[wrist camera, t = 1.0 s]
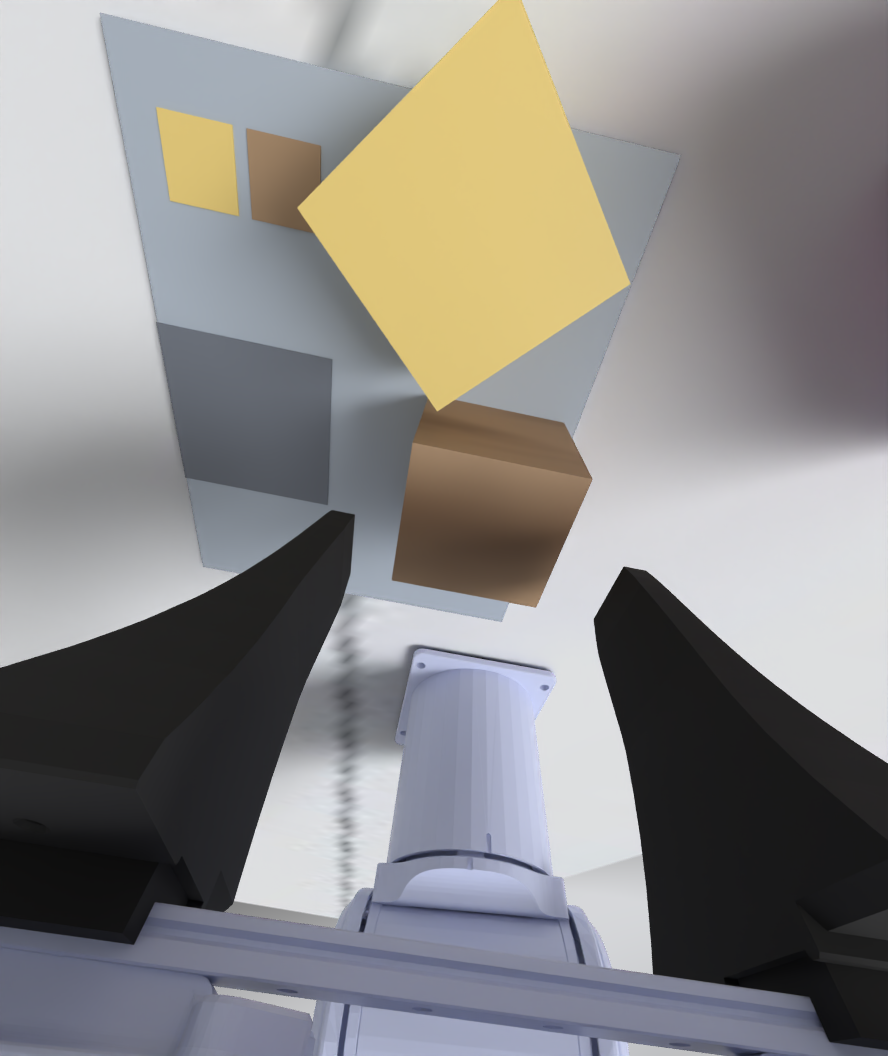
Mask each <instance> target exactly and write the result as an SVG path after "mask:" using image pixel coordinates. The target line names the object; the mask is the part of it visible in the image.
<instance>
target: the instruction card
mask: <svg viewBox="0 0 888 1056" xmlns="http://www.w3.org/2000/svg"><path fill="white" fill-rule="evenodd" d="M100 17H101V22H102V27H103V33H104V38H105V43H106V49H107V54H108V60H109V65H110V70H111V76H112V81H113V86H114V92H115V97H116V102H117V108H118V113H119V118H120V124H121V129H122V134H123V140H124V145H125V151H126V156H127V161H128V167H129V172H130V177H131V183H132V188H133V193H134V199H135V204H136V209H137V215H138V220H139V226H140V231H141V236H142V242H143V247H144V252H145V258H146V263H147V268H148V274H149V279H150V284H151V290H152V295H153V300H154V306H155V311H156V317H157V322H156V323H157V328H158V334H159V339H160V344H161V349H162V355H163V360H164V365H165V371H166V376H167V381H168V387H169V392H170V397H171V403H172V408H173V413H174V419H175V424H176V429H177V434H178V440H179V445H180V450H181V456H182V461H183V466H184V472H185V477H186V478H187V483H188V488H189V493H190V499H191V504H192V509H193V515H194V520H195V525H196V531H197V536H198V541H199V547H200V552H201V558H202V563H203V567H208V568H213V569H218V570H224V571H229V572H235V573H240V574H241V573H242V572H244V571H246V570H247V569H249V568H250V567H252V566H254V565H255V564H257V563H258V562H260V561H261V560H263V559H265V558H266V557H268V556H269V555H271V554H272V553H274V552H275V551H277V550H278V549H279V548H281V547H282V546H284V545H285V544H286V543H288V542H289V541H291V540H292V539H293V538H295V537H296V536H298V535H299V534H300V533H302V532H303V531H304V530H305V529H307V528H308V527H309V526H311V525H312V524H313V523H315V522H316V521H317V520H318V519H320V518H321V517H322V516H324V515H325V514H326V513H328V512H329V511H331V510H335V511H340V512H345V513H350V514H355V523H354V536H353V549H352V562H351V574H350V577H349V581H348V584H347V587H346V590H345V593H348V594H353V595H359V596H364V597H370V598H375V599H380V600H386V601H391V602H397V603H402V604H407V605H413V606H418V607H424V608H429V609H434V610H440V611H445V612H451V613H456V614H461V615H467V616H472V617H478V618H483V619H488V620H494V621H499V622H502V620H503V617H504V615H505V612H506V609H507V607H508V604H509V602H504V601H499V600H493V599H488V598H483V597H477V596H472V595H467V594H461V593H456V592H451V591H445V590H440V589H435V588H429V587H424V586H419V585H413V584H408V583H403V582H397V581H392V573H393V567H394V560H395V554H396V547H397V541H398V534H399V528H400V521H401V515H402V508H403V502H404V495H405V489H406V482H407V475H408V469H409V462H410V456H411V449H412V443H413V440H414V437H415V434H416V431H417V428H418V425H419V422H420V419H421V416H422V414H423V411H424V408H425V405H426V402H427V399H428V397H427V396H426V395H425V393H424V392H423V390H422V389H421V387H420V386H419V384H418V383H417V381H416V380H415V379H414V377H413V376H412V374H411V373H410V371H409V370H408V368H407V367H406V365H405V364H404V363H403V361H402V360H401V358H400V357H399V355H398V354H397V352H396V351H395V349H394V348H393V347H392V345H391V344H390V342H389V341H388V339H387V338H386V336H385V335H384V334H383V332H382V331H381V329H380V328H379V326H378V325H377V323H376V322H375V320H374V319H373V318H372V316H371V315H370V313H369V312H368V310H367V309H366V307H365V306H364V304H363V303H362V302H361V300H360V299H359V297H358V296H357V294H356V293H355V291H354V290H353V288H352V287H351V286H350V284H349V283H348V281H347V280H346V278H345V277H344V275H343V274H342V272H341V271H340V270H339V268H338V267H337V265H336V264H335V262H334V261H333V259H332V258H331V256H330V255H329V254H328V252H327V251H326V249H325V248H324V246H323V245H322V243H321V242H320V241H319V239H318V238H317V236H316V235H315V233H314V232H313V230H312V229H311V227H310V226H309V225H308V223H307V222H306V220H305V219H304V217H303V216H302V214H301V213H300V211H299V210H298V209H297V208H298V206H299V205H300V204H301V203H302V202H303V201H304V200H305V199H306V198H307V197H308V196H309V195H310V194H311V193H312V192H313V191H314V190H315V189H316V188H317V187H318V186H319V185H320V184H321V183H322V182H323V181H324V180H325V179H326V178H327V177H328V176H329V174H330V173H331V172H332V171H333V170H334V169H335V168H336V167H337V166H338V165H339V164H340V163H341V162H342V161H343V160H344V159H345V158H346V157H347V156H348V155H349V154H350V153H351V152H352V151H353V150H354V149H355V148H356V147H357V146H358V145H359V144H360V142H361V141H362V140H363V139H364V138H365V137H366V136H367V135H368V134H369V133H370V132H371V131H372V130H373V129H374V128H375V127H376V126H377V125H378V124H379V123H380V122H381V121H382V120H383V119H384V118H385V117H386V116H387V115H388V114H389V113H390V112H391V110H392V109H393V108H394V107H395V106H396V105H397V104H398V103H399V102H400V101H401V100H402V99H403V98H404V97H405V96H406V95H407V94H408V93H409V92H410V91H411V90H412V89H410V88H406V87H401V86H397V85H393V84H389V83H385V82H381V81H377V80H373V79H369V78H365V77H361V76H357V75H352V74H348V73H344V72H340V71H336V70H332V69H328V68H324V67H320V66H316V65H312V64H308V63H304V62H299V61H295V60H291V59H287V58H283V57H279V56H275V55H271V54H267V53H263V52H259V51H255V50H250V49H246V48H242V47H238V46H234V45H230V44H226V43H222V42H218V41H214V40H210V39H206V38H201V37H197V36H193V35H189V34H185V33H181V32H177V31H173V30H169V29H165V28H161V27H157V26H152V25H148V24H144V23H140V22H136V21H132V20H128V19H124V18H120V17H116V16H112V15H108V14H104V13H100ZM571 130H572V133H573V136H574V138H575V141H576V143H577V146H578V149H579V151H580V154H581V156H582V159H583V162H584V164H585V167H586V169H587V172H588V175H589V177H590V180H591V182H592V185H593V188H594V190H595V193H596V195H597V198H598V201H599V203H600V206H601V208H602V211H603V214H604V216H605V219H606V221H607V224H608V227H609V229H610V232H611V234H612V237H613V240H614V242H615V245H616V247H617V250H618V253H619V255H620V258H621V260H622V263H623V266H624V268H625V271H626V273H627V276H628V279H629V281H630V285H628V286H627V287H625V288H624V289H622V290H621V291H619V292H618V293H616V294H615V295H613V296H612V297H610V298H609V299H607V300H606V301H604V302H603V303H601V304H600V305H598V306H596V307H595V308H593V309H592V310H590V311H589V312H587V313H586V314H584V315H583V316H581V317H580V318H578V319H577V320H575V321H574V322H572V323H571V324H569V325H568V326H566V327H565V328H563V329H562V330H560V331H559V332H557V333H556V334H554V335H553V336H551V337H549V338H548V339H546V340H545V341H543V342H542V343H540V344H539V345H537V346H536V347H534V348H533V349H531V350H530V351H528V352H527V353H525V354H524V355H522V356H521V357H519V358H518V359H516V360H515V361H513V362H512V363H510V364H509V365H507V366H505V367H504V368H502V369H501V370H499V371H498V372H496V373H495V374H493V375H492V376H490V377H489V378H487V379H486V380H484V381H483V382H481V383H480V384H478V385H477V386H475V387H474V388H472V389H471V390H469V391H468V392H466V393H465V394H463V395H461V396H460V397H458V398H457V399H455V400H459V401H463V402H468V403H473V404H478V405H482V406H487V407H492V408H497V409H501V410H506V411H511V412H516V413H520V414H525V415H530V416H535V417H540V418H544V419H549V420H554V421H559V422H563V423H564V424H565V426H566V427H567V429H568V431H569V433H570V435H571V437H572V438H573V435H574V433H575V430H576V428H577V425H578V422H579V420H580V417H581V415H582V412H583V409H584V407H585V404H586V402H587V399H588V396H589V394H590V391H591V389H592V386H593V383H594V381H595V378H596V376H597V373H598V370H599V368H600V365H601V363H602V360H603V357H604V355H605V352H606V350H607V347H608V344H609V342H610V339H611V337H612V334H613V331H614V329H615V326H616V324H617V321H618V318H619V316H620V313H621V311H622V308H623V305H624V303H625V300H626V298H627V295H628V292H629V290H630V287H631V285H632V282H633V279H634V277H635V274H636V272H637V269H638V267H639V264H640V261H641V259H642V256H643V254H644V251H645V248H646V246H647V243H648V241H649V238H650V235H651V233H652V230H653V228H654V225H655V222H656V220H657V217H658V215H659V212H660V209H661V207H662V204H663V202H664V199H665V196H666V194H667V191H668V189H669V186H670V183H671V181H672V178H673V176H674V173H675V170H676V168H677V165H678V163H679V160H680V157H681V155H679V154H675V153H671V152H667V151H663V150H659V149H655V148H650V147H646V146H642V145H638V144H634V143H630V142H626V141H622V140H618V139H614V138H610V137H606V136H601V135H597V134H593V133H589V132H585V131H581V130H577V129H573V128H571Z"/></svg>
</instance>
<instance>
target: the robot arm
mask: <svg viewBox="0 0 888 1056" xmlns="http://www.w3.org/2000/svg"><path fill="white" fill-rule="evenodd" d="M354 523H355V514H350V513H345V512H340V511H335V510H331V511H329V512H328V513H326V514H325V515H324V516H322V517H321V518H320V519H318V520H317V521H316V522H315V523H313V524H312V525H311V526H309V527H308V528H307V529H305V530H304V531H303V532H302V533H300V534H299V535H298V536H296V537H295V538H293V539H292V540H291V541H289V542H288V543H286V544H285V545H284V546H282V547H281V548H279V549H278V550H277V551H275V552H274V553H272V554H271V555H269V556H268V557H266V558H265V559H263V560H261V561H260V562H258V563H257V564H255V565H254V566H252V567H250V568H249V569H247V570H246V571H244V572H242V573H241V574H239V575H237V576H236V577H234V578H232V579H230V580H229V581H227V582H225V583H223V584H221V585H219V586H217V587H215V588H213V589H212V590H210V591H208V592H206V593H204V594H202V595H200V596H198V597H195V598H193V599H191V600H189V601H186V602H184V603H182V604H180V605H177V606H175V607H173V608H171V609H168V610H166V611H164V612H162V613H159V614H157V615H155V616H153V617H150V618H148V619H145V620H143V621H140V622H137V623H135V624H132V625H130V626H127V627H124V628H122V629H119V630H116V631H114V632H111V633H108V634H105V635H102V636H100V637H97V638H94V639H91V640H88V641H85V642H82V643H79V644H76V645H73V646H70V647H67V648H64V649H61V650H57V651H54V652H51V653H48V654H44V655H41V656H38V657H34V658H31V659H28V660H25V661H21V662H18V663H15V664H12V665H8V666H5V667H1V668H0V1056H629V1049H628V1042H629V1043H636V1044H643V1045H651V1046H658V1047H665V1048H673V1049H680V1050H687V1051H695V1052H702V1053H709V1054H717V1055H724V1056H888V763H886V762H885V761H883V760H882V759H880V758H878V757H877V756H875V755H874V754H872V753H871V752H869V751H868V750H866V749H864V748H863V747H861V746H860V745H858V744H857V743H855V742H854V741H852V740H851V739H850V738H848V737H847V736H845V735H844V734H842V733H841V732H839V731H838V730H836V729H835V728H833V727H832V726H830V725H829V724H828V723H826V722H825V721H823V720H822V719H820V718H819V717H817V716H816V715H815V714H813V713H812V712H811V711H809V710H808V709H806V708H805V707H804V706H802V705H801V704H800V703H798V702H797V701H796V700H794V699H793V698H792V697H790V696H789V695H788V694H786V693H785V692H784V691H783V690H781V689H780V688H779V687H777V686H776V685H775V684H773V683H772V682H771V681H770V680H768V679H767V678H766V677H765V676H763V675H762V674H761V673H760V672H758V671H757V670H756V669H755V668H754V667H752V666H751V665H750V664H749V663H748V662H747V661H745V660H744V659H743V658H742V657H741V656H740V655H738V654H737V653H736V652H735V651H734V650H733V649H731V648H730V647H729V646H728V645H727V644H726V643H725V642H724V641H722V640H721V639H720V638H719V637H718V636H717V635H716V634H715V633H714V632H712V631H711V630H710V629H709V628H708V627H707V626H706V625H705V624H704V623H703V622H702V621H701V620H700V619H698V618H697V617H696V616H695V615H694V614H693V613H692V612H691V611H690V610H689V609H688V608H687V607H686V606H685V605H684V604H683V603H682V602H680V601H679V600H678V599H677V598H676V597H675V596H674V595H673V594H672V593H671V592H670V591H669V590H668V589H667V588H665V587H664V586H663V585H662V584H661V583H660V582H659V581H658V580H657V579H655V578H654V577H653V576H652V575H651V574H649V573H648V572H647V571H644V570H639V569H634V568H629V567H623V569H622V571H621V572H620V574H619V576H618V578H617V579H616V581H615V583H614V585H613V586H612V588H611V590H610V592H609V593H608V595H607V597H606V599H605V600H604V602H603V604H602V606H601V607H600V609H599V611H598V613H597V614H596V616H595V618H594V626H595V634H596V642H597V648H598V654H599V658H600V662H601V665H602V669H603V672H604V676H605V680H606V683H607V686H608V690H609V693H610V697H611V700H612V703H613V707H614V710H615V714H616V717H617V721H618V724H619V727H620V731H621V734H622V738H623V742H624V746H625V750H626V755H627V760H628V765H629V771H630V776H631V782H632V787H633V793H634V799H635V806H636V812H637V819H638V825H639V832H640V839H641V847H642V855H643V863H644V872H645V880H646V888H647V900H648V911H649V922H650V935H651V947H652V965H653V974H647V973H640V972H632V971H626V970H619V969H612V967H611V964H610V960H609V957H608V954H607V951H606V948H605V946H604V943H603V941H602V939H601V937H600V935H599V933H598V932H597V930H596V929H595V927H594V926H593V925H592V924H591V922H589V920H588V918H587V916H586V915H585V913H584V911H583V910H582V909H581V908H579V907H578V906H574V905H567V901H566V893H565V885H564V879H563V878H561V877H554V876H553V870H552V862H551V854H550V845H549V837H548V829H547V820H546V812H545V804H544V795H543V787H542V779H541V770H540V762H539V754H538V745H537V737H536V729H535V720H536V718H537V716H538V714H539V712H540V711H541V709H542V707H543V705H544V704H545V702H546V700H547V698H548V696H549V695H550V693H551V691H552V689H553V687H554V686H555V684H556V676H555V674H554V673H553V672H550V671H546V670H540V669H535V668H529V667H523V666H518V665H512V664H507V663H501V662H496V661H490V660H485V659H479V658H474V657H468V656H463V655H457V654H451V653H446V652H440V651H435V650H429V649H422V648H421V649H417V650H416V651H415V652H414V655H413V659H412V664H411V668H410V673H409V677H408V682H407V686H406V691H405V695H404V699H403V704H402V708H401V713H400V717H399V722H398V726H397V731H396V735H395V742H396V743H397V744H399V745H404V750H403V757H402V763H401V770H400V777H399V783H398V790H397V797H396V803H395V810H394V817H393V823H392V830H391V837H390V843H389V850H388V857H387V863H379V864H378V865H377V871H376V877H375V883H374V888H362V889H360V890H359V891H358V892H357V893H356V895H355V897H354V899H353V900H352V901H351V902H350V903H349V904H348V905H347V906H346V907H345V908H344V910H343V911H342V913H341V915H340V917H339V920H338V922H337V925H336V927H335V928H329V927H322V926H316V925H309V924H302V923H295V922H288V921H281V920H274V919H267V918H261V917H253V916H247V915H240V914H233V913H226V912H224V911H226V910H227V909H228V908H229V907H230V906H231V905H232V904H233V902H234V899H235V895H236V892H237V888H238V885H239V882H240V878H241V875H242V872H243V869H244V865H245V862H246V859H247V855H248V852H249V849H250V846H251V842H252V839H253V836H254V833H255V829H256V826H257V823H258V820H259V817H260V814H261V811H262V807H263V804H264V801H265V798H266V795H267V792H268V789H269V786H270V782H271V779H272V776H273V773H274V770H275V767H276V764H277V761H278V758H279V755H280V752H281V749H282V746H283V743H284V740H285V737H286V734H287V732H288V729H289V726H290V723H291V720H292V717H293V714H294V711H295V709H296V706H297V703H298V700H299V697H300V695H301V692H302V690H303V687H304V685H305V683H306V680H307V678H308V676H309V674H310V671H311V669H312V667H313V665H314V663H315V661H316V658H317V656H318V654H319V652H320V650H321V648H322V645H323V643H324V641H325V639H326V637H327V635H328V632H329V630H330V628H331V626H332V624H333V622H334V619H335V617H336V615H337V613H338V610H339V608H340V606H341V603H342V600H343V597H344V593H345V590H346V587H347V584H348V581H349V577H350V574H351V562H352V549H353V536H354ZM213 986H218V987H225V988H233V989H240V990H247V991H255V992H262V993H269V994H276V995H284V996H291V997H299V998H306V999H313V1000H317V1001H316V1007H315V1011H314V1017H313V1022H312V1019H311V1017H310V1015H309V1014H308V1013H305V1012H300V1011H295V1010H292V1009H287V1008H283V1007H279V1006H275V1005H271V1004H267V1003H262V1002H258V1001H254V1000H249V999H245V998H240V997H234V996H227V995H218V994H217V992H216V990H215V988H214V987H213Z"/></svg>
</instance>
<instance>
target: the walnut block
mask: <svg viewBox="0 0 888 1056" xmlns="http://www.w3.org/2000/svg"><path fill="white" fill-rule="evenodd" d="M591 482H592V477H591V475H590V473H589V471H588V469H587V467H586V465H585V463H584V461H583V459H582V457H581V455H580V453H579V451H578V449H577V447H576V445H575V443H574V441H573V439H572V437H571V435H570V433H569V431H568V429H567V427H566V426H565V424H564V423H563V422H559V421H554V420H549V419H544V418H540V417H535V416H530V415H525V414H520V413H516V412H511V411H506V410H501V409H497V408H492V407H487V406H482V405H478V404H473V403H468V402H463V401H459V400H454V401H452V402H451V403H449V404H448V405H446V406H445V407H443V408H442V409H440V410H439V411H436V409H435V408H434V406H433V405H432V403H431V402H430V400H429V399H427V402H426V405H425V408H424V411H423V414H422V416H421V419H420V422H419V425H418V428H417V431H416V434H415V437H414V440H413V443H412V449H411V456H410V462H409V469H408V475H407V482H406V489H405V495H404V502H403V508H402V515H401V521H400V528H399V534H398V541H397V547H396V554H395V560H394V567H393V573H392V581H397V582H403V583H408V584H413V585H419V586H424V587H429V588H435V589H440V590H445V591H451V592H456V593H461V594H467V595H472V596H477V597H483V598H488V599H493V600H499V601H504V602H509V603H514V604H520V605H525V606H530V607H536V606H537V604H538V602H539V600H540V597H541V595H542V593H543V591H544V588H545V586H546V584H547V581H548V579H549V577H550V575H551V572H552V570H553V568H554V566H555V563H556V561H557V559H558V556H559V554H560V552H561V550H562V547H563V545H564V543H565V541H566V538H567V536H568V534H569V531H570V529H571V527H572V525H573V522H574V520H575V518H576V516H577V513H578V511H579V509H580V506H581V504H582V502H583V500H584V497H585V495H586V493H587V491H588V488H589V486H590V484H591Z"/></svg>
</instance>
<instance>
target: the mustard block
mask: <svg viewBox="0 0 888 1056" xmlns="http://www.w3.org/2000/svg"><path fill="white" fill-rule="evenodd" d="M297 209H298V210H299V211H300V213H301V214H302V216H303V217H304V219H305V220H306V222H307V223H308V225H309V226H310V227H311V229H312V230H313V232H314V233H315V235H316V236H317V238H318V239H319V241H320V242H321V243H322V245H323V246H324V248H325V249H326V251H327V252H328V254H329V255H330V256H331V258H332V259H333V261H334V262H335V264H336V265H337V267H338V268H339V270H340V271H341V272H342V274H343V275H344V277H345V278H346V280H347V281H348V283H349V284H350V286H351V287H352V288H353V290H354V291H355V293H356V294H357V296H358V297H359V299H360V300H361V302H362V303H363V304H364V306H365V307H366V309H367V310H368V312H369V313H370V315H371V316H372V318H373V319H374V320H375V322H376V323H377V325H378V326H379V328H380V329H381V331H382V332H383V334H384V335H385V336H386V338H387V339H388V341H389V342H390V344H391V345H392V347H393V348H394V349H395V351H396V352H397V354H398V355H399V357H400V358H401V360H402V361H403V363H404V364H405V365H406V367H407V368H408V370H409V371H410V373H411V374H412V376H413V377H414V379H415V380H416V381H417V383H418V384H419V386H420V387H421V389H422V390H423V392H424V393H425V395H426V396H427V397H428V399H429V400H430V402H431V403H432V405H433V406H434V408H435V409H436V411H439V410H440V409H442V408H443V407H445V406H446V405H448V404H449V403H451V402H452V401H454V400H455V399H457V398H458V397H460V396H461V395H463V394H465V393H466V392H468V391H469V390H471V389H472V388H474V387H475V386H477V385H478V384H480V383H481V382H483V381H484V380H486V379H487V378H489V377H490V376H492V375H493V374H495V373H496V372H498V371H499V370H501V369H502V368H504V367H505V366H507V365H509V364H510V363H512V362H513V361H515V360H516V359H518V358H519V357H521V356H522V355H524V354H525V353H527V352H528V351H530V350H531V349H533V348H534V347H536V346H537V345H539V344H540V343H542V342H543V341H545V340H546V339H548V338H549V337H551V336H553V335H554V334H556V333H557V332H559V331H560V330H562V329H563V328H565V327H566V326H568V325H569V324H571V323H572V322H574V321H575V320H577V319H578V318H580V317H581V316H583V315H584V314H586V313H587V312H589V311H590V310H592V309H593V308H595V307H596V306H598V305H600V304H601V303H603V302H604V301H606V300H607V299H609V298H610V297H612V296H613V295H615V294H616V293H618V292H619V291H621V290H622V289H624V288H625V287H627V286H628V285H630V281H629V279H628V276H627V273H626V271H625V268H624V266H623V263H622V260H621V258H620V255H619V253H618V250H617V247H616V245H615V242H614V240H613V237H612V234H611V232H610V229H609V227H608V224H607V221H606V219H605V216H604V214H603V211H602V208H601V206H600V203H599V201H598V198H597V195H596V193H595V190H594V188H593V185H592V182H591V180H590V177H589V175H588V172H587V169H586V167H585V164H584V162H583V159H582V156H581V154H580V151H579V149H578V146H577V143H576V141H575V138H574V136H573V133H572V130H571V128H570V125H569V123H568V120H567V117H566V115H565V112H564V110H563V107H562V104H561V102H560V99H559V97H558V94H557V91H556V89H555V86H554V84H553V81H552V78H551V76H550V73H549V71H548V68H547V65H546V63H545V60H544V58H543V55H542V52H541V50H540V47H539V45H538V42H537V39H536V37H535V34H534V32H533V29H532V26H531V24H530V21H529V19H528V16H527V13H526V11H525V8H524V6H523V3H522V0H498V1H497V2H496V3H495V4H494V5H493V6H492V7H491V8H490V9H489V10H488V11H487V12H486V13H485V14H484V15H483V17H482V18H481V19H480V20H479V21H478V22H477V23H476V24H475V25H474V26H473V27H472V28H471V29H470V30H469V31H468V32H467V33H466V34H465V35H464V36H463V37H462V38H461V39H460V40H459V41H458V42H457V43H456V44H455V45H454V46H453V48H452V49H451V50H450V51H449V52H448V53H447V54H446V55H445V56H444V57H443V58H442V59H441V60H440V61H439V62H438V63H437V64H436V65H435V66H434V67H433V68H432V69H431V70H430V71H429V72H428V73H427V74H426V75H425V76H424V77H423V78H422V80H421V81H420V82H419V83H418V84H417V85H416V86H415V87H414V88H413V89H412V90H411V91H410V92H409V93H408V94H407V95H406V96H405V97H404V98H403V99H402V100H401V101H400V102H399V103H398V104H397V105H396V106H395V107H394V108H393V109H392V110H391V112H390V113H389V114H388V115H387V116H386V117H385V118H384V119H383V120H382V121H381V122H380V123H379V124H378V125H377V126H376V127H375V128H374V129H373V130H372V131H371V132H370V133H369V134H368V135H367V136H366V137H365V138H364V139H363V140H362V141H361V142H360V144H359V145H358V146H357V147H356V148H355V149H354V150H353V151H352V152H351V153H350V154H349V155H348V156H347V157H346V158H345V159H344V160H343V161H342V162H341V163H340V164H339V165H338V166H337V167H336V168H335V169H334V170H333V171H332V172H331V173H330V174H329V176H328V177H327V178H326V179H325V180H324V181H323V182H322V183H321V184H320V185H319V186H318V187H317V188H316V189H315V190H314V191H313V192H312V193H311V194H310V195H309V196H308V197H307V198H306V199H305V200H304V201H303V202H302V203H301V204H300V205H299V206H298V208H297Z"/></svg>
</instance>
